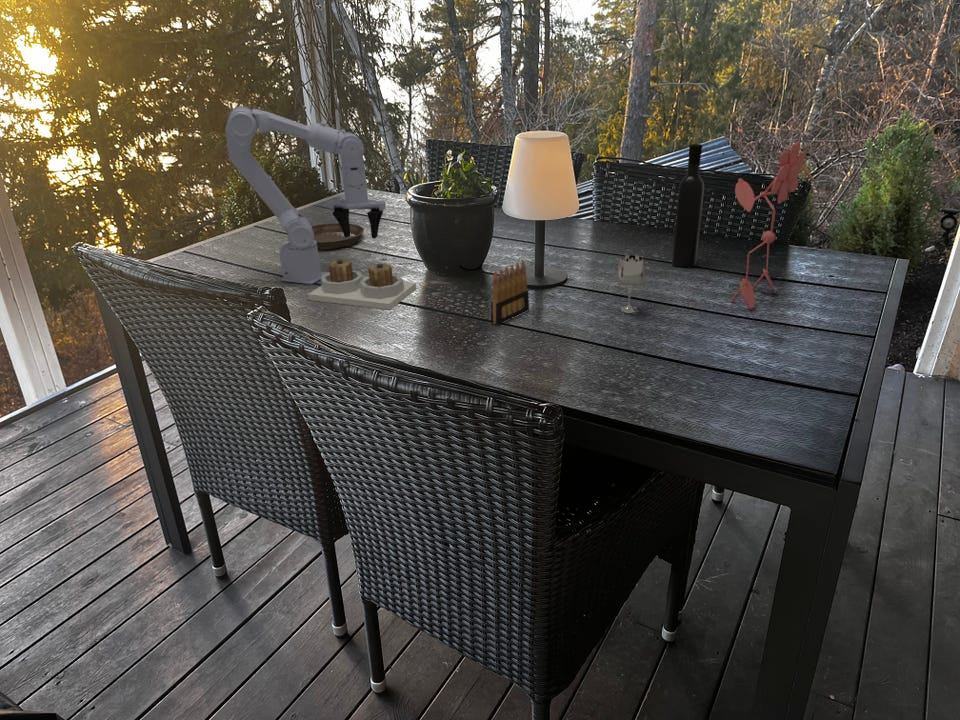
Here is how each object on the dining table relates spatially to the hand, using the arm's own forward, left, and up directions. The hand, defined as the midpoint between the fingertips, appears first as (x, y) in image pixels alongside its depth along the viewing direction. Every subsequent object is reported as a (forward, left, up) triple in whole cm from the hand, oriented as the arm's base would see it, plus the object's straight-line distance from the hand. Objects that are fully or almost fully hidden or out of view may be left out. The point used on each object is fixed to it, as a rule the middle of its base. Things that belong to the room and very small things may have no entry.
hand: (361, 236), depth 180 cm
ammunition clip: (+47, -18, -10) cm, 51 cm away
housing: (+8, -15, -9) cm, 19 cm away
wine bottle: (+79, +27, -10) cm, 84 cm away
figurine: (+100, +5, -10) cm, 101 cm away
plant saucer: (-24, +21, -10) cm, 33 cm away
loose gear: (+3, -15, -8) cm, 17 cm away
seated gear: (+14, -15, -8) cm, 22 cm away
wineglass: (+71, -7, -10) cm, 72 cm away
